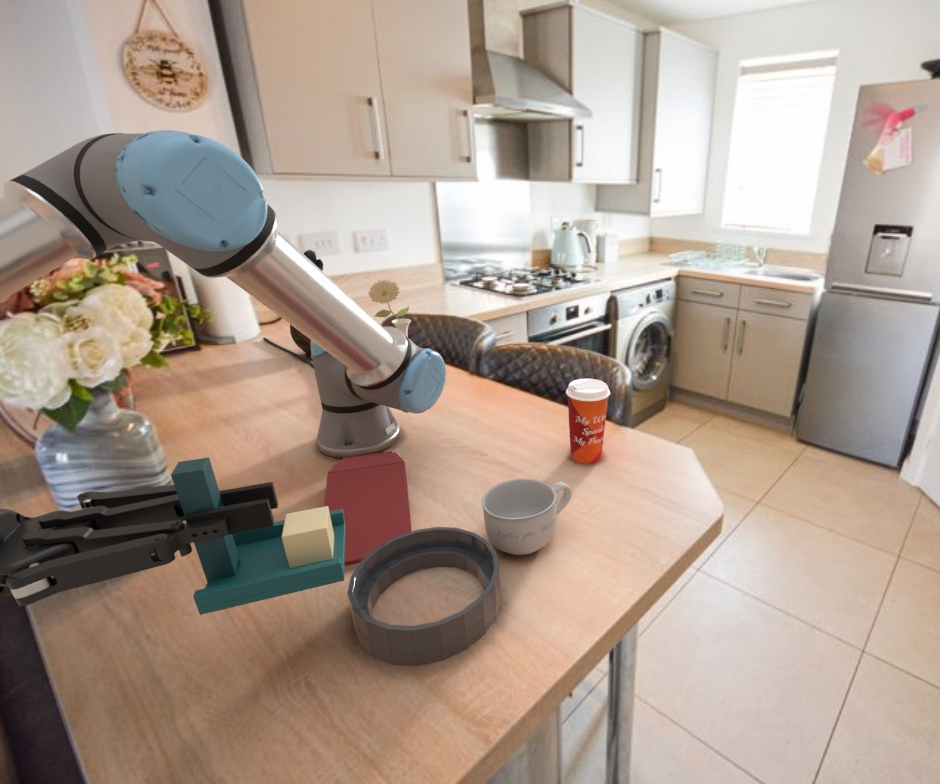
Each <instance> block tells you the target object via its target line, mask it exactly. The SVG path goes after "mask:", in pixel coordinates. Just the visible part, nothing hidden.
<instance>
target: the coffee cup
mask: <svg viewBox="0 0 940 784" xmlns="http://www.w3.org/2000/svg"><path fill="white" fill-rule="evenodd" d="M565 394H566V395H567V406H568V408H567V409H568V429H569V430H568V431H569V447H570V448H569V449H570V456H571V457H570V458H571V459H572V460H573V461H574V462H576V463H579V464H585V465H588V464H589V465H590V464H595V463H597V462H599V461H601V459H602V454H603V448H604V447H603V446H604V438H605V437H604V436H605V428H606V419H607V411H608V402H609V401H608V400H609V396H610V395H611V391H610V389H609V386H608V384H607V383H605V382H604V381H602V380H600V379H595V378H578V379H574V380H572V381H570V383H569V384H568V386H567V388H566V390H565Z"/></svg>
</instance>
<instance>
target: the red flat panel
mask: <svg viewBox="0 0 940 784" xmlns="http://www.w3.org/2000/svg"><path fill="white" fill-rule="evenodd" d="M409 500H410V499H409V490H408V479H407V468H406V461H405V460H404V459H403V457H402V456H400V454H398V453H397V451H395V452H393V451H392V450H389V451H381V452H378V453H374V454H368V455H361V456H354V457H347V458H342V459H339V460H337V461H336V462H335V464H333V466H332V467H331V468H330V469H329V470H328V471H327V473H326V483H325V494H324V504H323V507H325V506H328V507H329V511H334V510H339V509H343V513H344V519H345V524H346V533H345V566H348V565H354V564H357V563H358V564H359V563H360V562H361V560H363V559H364V558H365V557H366V556H367V555H368V554H369V553H371V552H372V551H373V550H374V549H375V548H377V547H378V546H380V545H381V544H383V543H385V542H387V541H389V540H390V539H392V538H394V537H396V536H399V535H402V534H405V533H408V532H411V531H412V522H411V521H412V520H411V510H410V501H409Z"/></svg>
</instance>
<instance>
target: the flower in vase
mask: <svg viewBox="0 0 940 784" xmlns="http://www.w3.org/2000/svg"><path fill="white" fill-rule="evenodd" d="M400 292H401V291H400V287H399V286H398V284H397V282H396V281H392V280H391V279H382V280H377V282H374V283H373V284H372V285H371V287H370V289H369V291H368V296H369V299H370V298H371V301H372V302H374V303H379V304H387V305H388V309H389V310H387V309H380V310H379V311H378V312H377V313H376V314H375V315H374V317H376V318H387V317H389V316H390V315H391V314H392V315H393V316H394V318H395V319H393V320H391V323H392V324H393V325H394V327H395V328H397V329H399V330H400V331H401V332H402V333H404V334H405V335H406V336H407V337H408V334H409V333H408V330H409V325H410V324H411V322H412V319H410V318H399V317H402V316H405V315H406V314H407V313H408V312H409V309H410V306H407V307H405V308H402V309H400V310H398V312H397V314H395V313H394V312H393V310H392V309H391V305H390V302H392V301H393V300H396V299H397V297H398V296H399V294H400ZM408 338H409V337H408Z"/></svg>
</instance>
